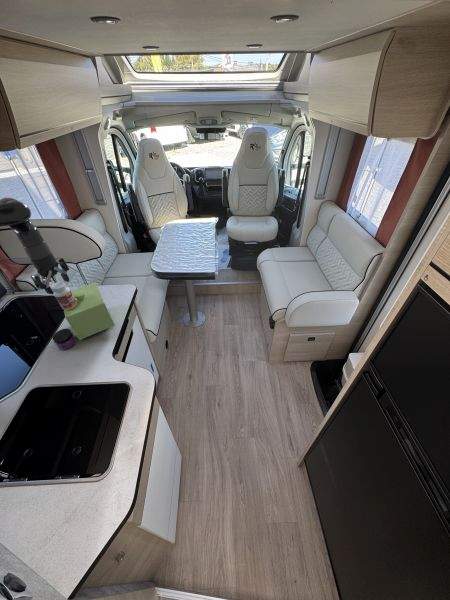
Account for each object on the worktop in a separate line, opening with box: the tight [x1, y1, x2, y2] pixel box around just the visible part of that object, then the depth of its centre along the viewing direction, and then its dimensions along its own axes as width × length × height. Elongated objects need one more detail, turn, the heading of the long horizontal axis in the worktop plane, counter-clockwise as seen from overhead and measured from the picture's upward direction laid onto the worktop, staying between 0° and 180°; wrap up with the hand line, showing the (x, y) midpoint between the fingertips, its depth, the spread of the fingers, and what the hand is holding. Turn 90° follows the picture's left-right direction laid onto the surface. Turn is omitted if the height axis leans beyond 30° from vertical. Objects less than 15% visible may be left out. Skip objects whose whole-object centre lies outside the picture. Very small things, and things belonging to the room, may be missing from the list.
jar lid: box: [52, 328, 73, 344], centre depth 115 cm, size 8×8×1 cm
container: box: [63, 282, 116, 341], centre depth 121 cm, size 19×16×20 cm
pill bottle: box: [50, 281, 77, 310], centre depth 108 cm, size 6×6×11 cm
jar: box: [53, 332, 78, 351], centre depth 117 cm, size 8×8×6 cm
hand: (59, 287), depth 105 cm, fingers open, 8 cm apart
